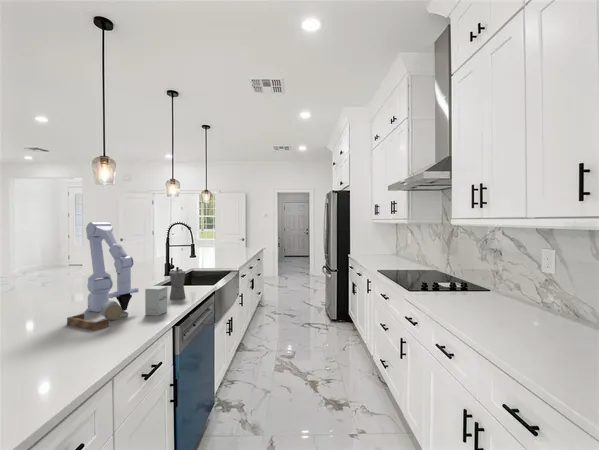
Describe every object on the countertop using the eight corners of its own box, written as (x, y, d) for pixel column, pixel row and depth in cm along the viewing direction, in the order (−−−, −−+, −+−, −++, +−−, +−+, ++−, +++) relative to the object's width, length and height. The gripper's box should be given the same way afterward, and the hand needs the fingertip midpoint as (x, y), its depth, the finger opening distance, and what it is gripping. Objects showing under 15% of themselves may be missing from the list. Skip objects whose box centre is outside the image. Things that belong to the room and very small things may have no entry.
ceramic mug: (104, 322, 144) (105, 305, 144) (100, 318, 150) (100, 301, 150) (130, 318, 151) (131, 301, 151) (125, 314, 157) (125, 298, 157)
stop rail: (67, 324, 141) (66, 317, 141) (82, 320, 147) (82, 313, 147) (94, 330, 134) (94, 323, 134) (109, 325, 140) (109, 318, 140)
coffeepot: (190, 298, 190) (190, 267, 189) (174, 301, 183) (174, 269, 183) (178, 294, 201) (178, 264, 200) (163, 296, 194) (163, 266, 194)
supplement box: (158, 316, 155) (158, 289, 154) (144, 315, 156) (144, 288, 156) (167, 311, 162) (167, 286, 162) (154, 310, 163) (154, 285, 163)
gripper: (115, 285, 148) (115, 315, 148) (142, 279, 161) (143, 307, 161) (105, 283, 151) (105, 313, 151) (132, 278, 164) (132, 305, 164)
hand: (124, 310), depth 156 cm, fingers closed
